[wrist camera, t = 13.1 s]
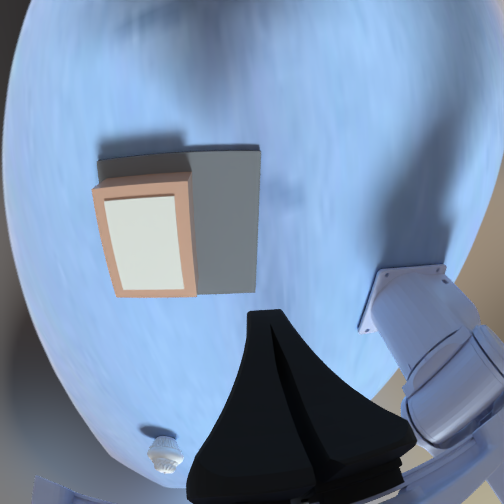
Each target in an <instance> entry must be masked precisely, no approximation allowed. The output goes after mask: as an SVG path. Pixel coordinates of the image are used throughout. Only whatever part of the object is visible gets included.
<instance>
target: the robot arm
mask: <svg viewBox="0 0 504 504" xmlns="http://www.w3.org/2000/svg"><path fill="white" fill-rule="evenodd" d="M446 268H447V266H446V265H445V264H437V265H425V266H413V267H401V268H387V269H381V270H379V271H378V272H377V275H376V278H375V281H374V285H373V288H372V291H371V294H370V297H369V300H368V303H367V306H366V309H365V312H364V315H363V317H362V320H361V323H360V326H359V328H358V332H359V334H367V333H372V332H379V334H380V335H381V337H382V339H383V340H384V342H385V344H386V345H387V347H388V349H389V350H390V352H391V354H392V356H393V357H394V359H395V361H396V363H397V364H398V366H399V368H400V370H401V372H402V373H403V375H404V377H405V379H406V381H407V383H406V384H405V385H404V386H403V387H402V389H403V391H404V393H405V395H406V396H405V397H404V399H403V400H402V403H401V417H399V416H398V415H395V414H393V413H391V412H389V411H387V410H385V409H383V408H382V407H380V406H378V405H377V404H375V403H373V402H372V401H370V400H369V399H367V398H366V397H364V396H363V395H362V394H360V393H359V392H357V391H356V390H354V389H353V388H352V387H350V386H349V385H348V384H347V383H345V382H344V381H343V380H342V379H341V378H339V377H338V376H337V375H336V374H335V373H334V372H333V371H332V370H331V369H330V368H328V367H327V366H326V365H325V364H324V363H323V361H322V360H321V359H320V358H319V357H318V356H317V355H316V354H315V353H314V352H313V351H312V350H311V348H310V347H309V346H308V345H307V344H306V342H305V341H304V340H303V339H302V338H301V336H300V335H299V334H298V332H297V331H296V330H295V328H294V327H293V326H292V324H291V323H290V321H289V320H288V319H287V317H286V316H285V314H284V312H283V311H282V310H281V309H274V310H258V311H249V312H248V313H247V336H246V343H245V348H244V353H243V357H242V360H241V364H240V367H239V371H238V374H237V377H236V379H235V382H234V385H233V387H232V390H231V392H230V395H229V397H228V399H227V402H226V404H225V406H224V408H223V410H222V412H221V414H220V416H219V418H218V420H217V422H216V424H215V425H214V427H213V429H212V431H211V433H210V434H209V436H208V438H207V439H206V441H205V442H204V444H203V445H202V447H201V448H200V450H199V451H198V453H197V454H196V456H195V459H194V461H193V464H192V466H191V469H190V472H189V474H188V478H187V483H186V493H187V500H189V501H190V502H192V503H193V504H364V503H367V502H370V501H373V500H375V499H378V498H380V497H383V496H385V495H388V494H390V493H392V492H395V491H397V490H399V489H400V491H399V493H398V495H397V496H396V497H393V498H391V499H389V500H386V501H384V502H381V503H379V504H461V503H462V502H463V501H465V499H467V498H468V497H469V496H470V495H471V494H472V493H473V492H474V491H475V490H476V489H477V488H478V487H479V486H480V485H481V484H482V483H483V482H484V481H485V480H486V481H487V482H488V484H489V485H490V487H491V488H492V490H493V491H494V493H495V494H496V496H497V497H498V499H499V500H500V502H501V503H502V504H504V344H503V342H502V341H501V340H500V339H499V338H498V336H497V335H496V334H495V333H494V332H493V331H492V330H491V329H490V328H489V327H488V326H486V325H481V323H480V316H479V313H478V311H477V308H476V307H475V305H474V304H473V303H472V302H471V301H470V300H469V298H467V296H466V295H465V294H464V293H463V292H462V291H461V290H460V289H459V288H458V287H457V286H456V285H455V284H454V283H453V282H452V281H451V280H450V279H449V278H448V277H447V276H446V275H445V271H446ZM386 273H387V274H386ZM385 274H386V275H385ZM416 444H417V445H419V446H420V447H423V448H424V449H425V450H427V451H428V452H429V453H430V454H431V455H432V456H433V457H434V458H433V459H430V460H429V461H427V462H425V463H423V464H421V465H419V466H417V467H415V468H413V469H411V470H409V471H406V472H404V473H401V471H400V468H399V467H400V466H401V465H402V462H401V459H400V457H401V456H402V455H404V454H405V453H406V452H408V451H409V450H410V449H412V448H413V447H414V446H415V445H416ZM401 488H402V489H401ZM31 504H116V503H112V502H108V501H104V500H100V499H96V498H92V497H89V496H85V495H83V494H79V493H76V492H74V491H72V490H71V489H69V488H67V487H64V486H62V485H60V484H57V483H55V482H52V481H49V480H47V479H45V478H42V477H40V476H38V475H36V476H35V481H34V487H33V494H32V502H31Z"/></svg>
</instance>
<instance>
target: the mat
mask: <svg viewBox="0 0 504 504" xmlns="http://www.w3.org/2000/svg"><path fill="white" fill-rule="evenodd" d="M260 164H261V151H258V150H223V151H192V152H174V153H160V154H149V155H139V156H129V157H121V158H113V159H106V160H99V161H97V169H98V177H99V183H101V182H102V181H104V180H105V179H106V178H115V177H124V176H134V175H146V174H159V173H174V172H192V185H193V206H194V223H195V238H196V251H197V263H198V275H199V279H198V290H197V295H199V294H231V293H255V288H256V264H257V240H258V216H259V191H260Z"/></svg>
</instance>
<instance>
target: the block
mask: <svg viewBox="0 0 504 504" xmlns="http://www.w3.org/2000/svg"><path fill="white" fill-rule="evenodd" d="M92 195H93V201H94V207H95V212H96V218H97V223H98V228H99V232H100V237H101V242H102V246H103V250H104V254H105V258H106V262H107V266H108V270H109V273H110V277H111V281H112V284H113V288H114V291H115V294H116V297H131V298H157V297H197V290H198V279H199V275H198V263H197V251H196V238H195V223H194V206H193V185H192V172H174V173H159V174H146V175H134V176H124V177H115V178H106V179H105V180H104V181H102V182H101V183H99V184H98V185H97V186H95V187H94V188H92Z"/></svg>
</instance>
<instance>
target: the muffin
mask: <svg viewBox="0 0 504 504" xmlns="http://www.w3.org/2000/svg"><path fill="white" fill-rule="evenodd" d="M149 448H150V449H149V450H148V452H147V455H148V457H149V458H150V459H151V460H152V462H153V463H154V467H155V469H156V470H157V471H159V472H162V473H164V474H166V473H173V472H174V471H175V470H176V467H177V466H178V464H180V463H181V462H182V461H183V459H184V456H183V454H182V451H181V449H180V448H179V446H178V444H177V442H176V440H175V439H174V438H172V437H167V436H158V437H157V438H156V439H155V441H154V442H153V443H152V445H151V446H150V447H149Z"/></svg>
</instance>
